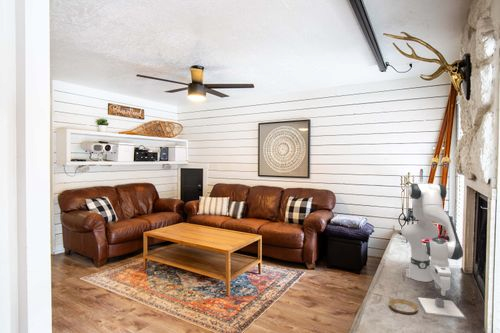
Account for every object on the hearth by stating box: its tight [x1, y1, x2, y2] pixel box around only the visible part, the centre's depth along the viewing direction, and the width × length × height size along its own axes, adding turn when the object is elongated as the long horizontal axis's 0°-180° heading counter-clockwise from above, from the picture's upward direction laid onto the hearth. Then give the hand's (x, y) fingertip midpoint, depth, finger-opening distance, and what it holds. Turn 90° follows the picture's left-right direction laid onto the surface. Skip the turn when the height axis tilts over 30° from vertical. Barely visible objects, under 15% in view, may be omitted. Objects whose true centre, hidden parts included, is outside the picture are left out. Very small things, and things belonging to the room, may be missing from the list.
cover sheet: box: [417, 297, 465, 319], centre depth 166 cm, size 18×18×5 cm
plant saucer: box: [388, 298, 419, 315], centre depth 166 cm, size 15×15×3 cm
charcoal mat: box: [415, 296, 468, 320], centre depth 166 cm, size 20×20×1 cm
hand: (440, 291), depth 165 cm, fingers open, 8 cm apart
